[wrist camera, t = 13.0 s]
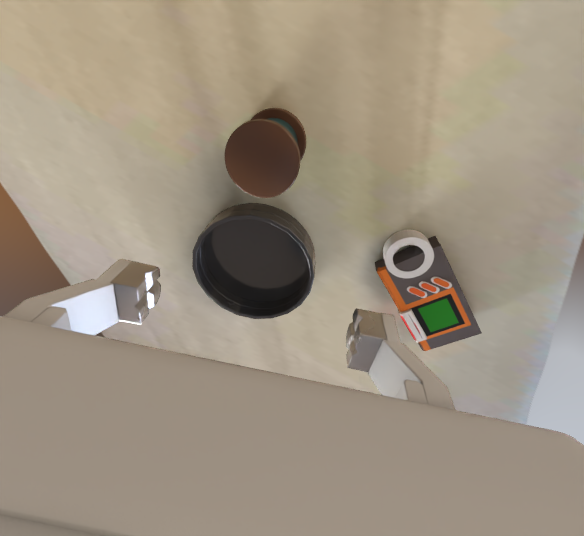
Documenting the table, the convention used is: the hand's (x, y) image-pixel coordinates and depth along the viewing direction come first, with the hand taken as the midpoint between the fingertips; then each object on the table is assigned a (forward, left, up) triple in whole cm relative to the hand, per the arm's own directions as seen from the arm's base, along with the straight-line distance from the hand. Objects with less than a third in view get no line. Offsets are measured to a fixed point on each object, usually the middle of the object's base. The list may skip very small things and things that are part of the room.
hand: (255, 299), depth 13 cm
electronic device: (-10, -16, -21) cm, 28 cm away
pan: (-11, +3, -21) cm, 24 cm away
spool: (+2, +3, -21) cm, 21 cm away
